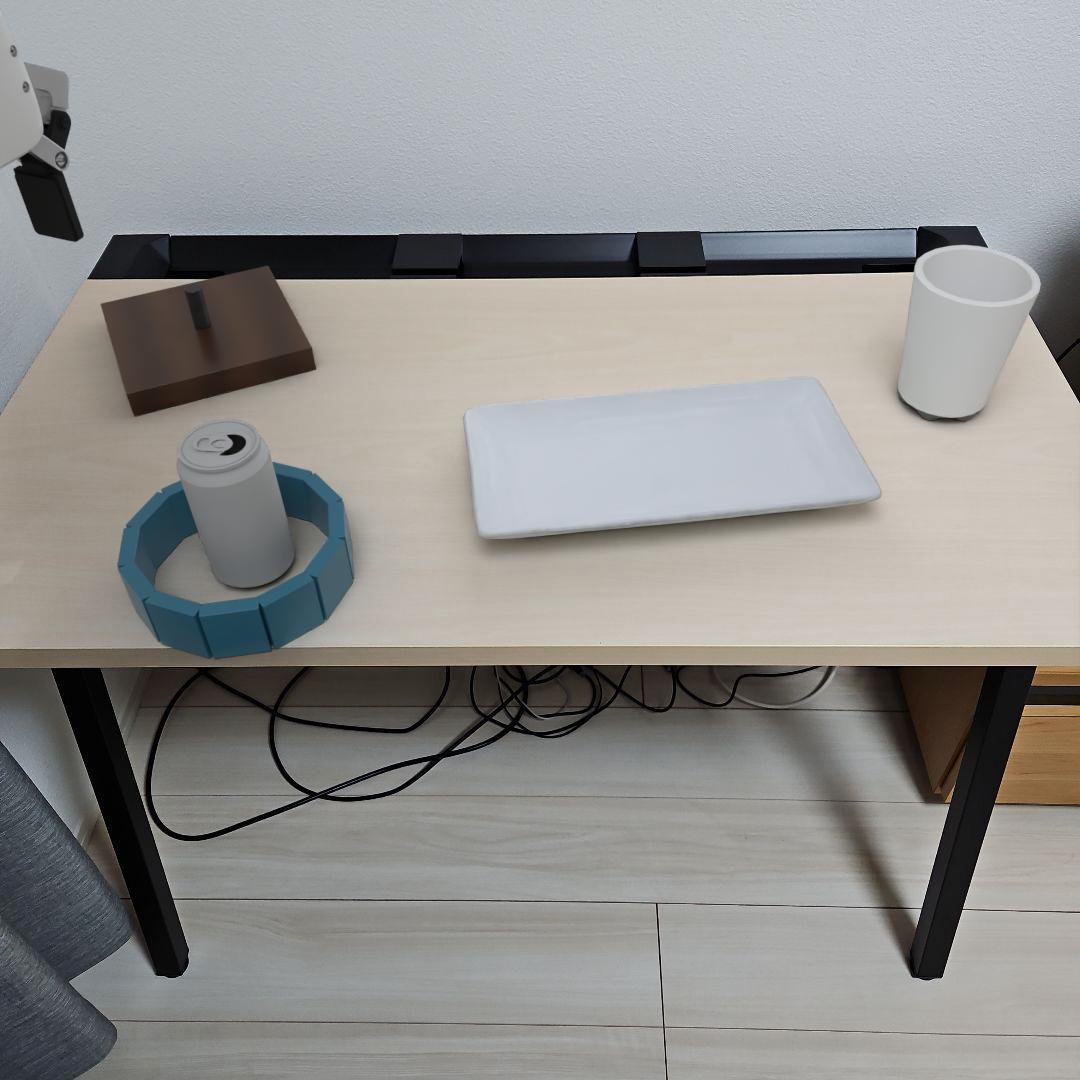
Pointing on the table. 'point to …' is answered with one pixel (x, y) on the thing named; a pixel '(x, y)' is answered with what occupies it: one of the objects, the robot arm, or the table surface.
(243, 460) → the beverage can
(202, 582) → the table surface
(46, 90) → the robot arm
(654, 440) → the tray
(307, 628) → the ring
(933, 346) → the cup
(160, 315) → the platform
